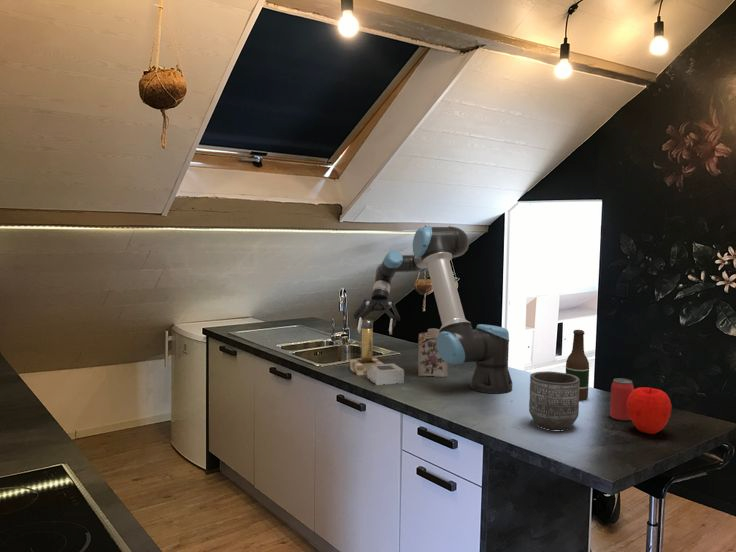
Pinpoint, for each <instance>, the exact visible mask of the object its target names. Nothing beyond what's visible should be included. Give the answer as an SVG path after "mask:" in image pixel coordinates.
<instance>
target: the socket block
mask: <svg viewBox="0 0 736 552" xmlns="http://www.w3.org/2000/svg"><path fill="white" fill-rule="evenodd" d="M366 376H367V379H368V380H369V379H370V380H369V381H371V382H372V384H374V383H375V384H374V385H376V386H383V384H385V385H396V383H398V384H404V383H405V369H403V368H402V367H400V366H399V365H397V364H396V363H384V364H379V365H367V375H366Z"/></svg>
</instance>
